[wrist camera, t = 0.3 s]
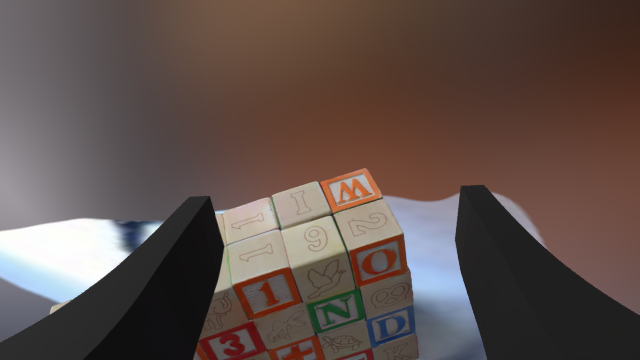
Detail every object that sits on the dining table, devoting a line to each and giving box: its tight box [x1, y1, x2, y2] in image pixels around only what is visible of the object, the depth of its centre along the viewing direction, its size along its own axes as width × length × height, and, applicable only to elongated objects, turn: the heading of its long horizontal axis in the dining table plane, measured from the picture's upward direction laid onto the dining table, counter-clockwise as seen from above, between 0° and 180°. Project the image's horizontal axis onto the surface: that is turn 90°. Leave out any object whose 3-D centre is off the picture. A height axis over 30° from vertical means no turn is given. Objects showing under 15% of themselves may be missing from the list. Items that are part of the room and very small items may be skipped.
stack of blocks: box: [50, 168, 419, 360], centre depth 29 cm, size 21×6×12 cm, turn 104°
